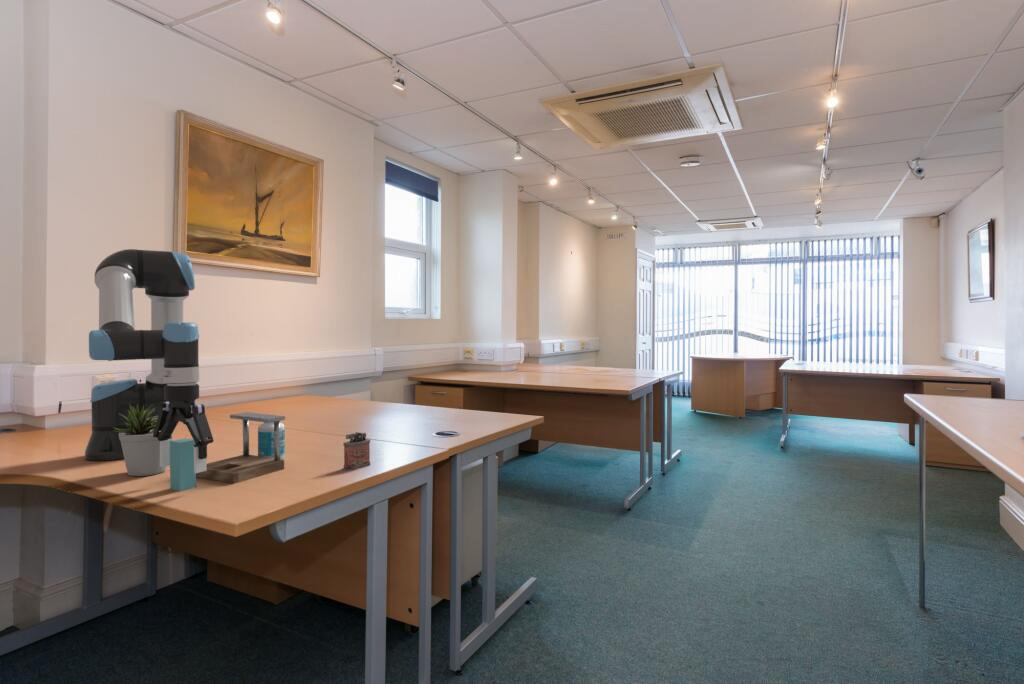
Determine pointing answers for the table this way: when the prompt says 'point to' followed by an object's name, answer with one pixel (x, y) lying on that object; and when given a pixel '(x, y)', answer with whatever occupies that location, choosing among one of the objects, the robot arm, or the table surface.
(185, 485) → the peg
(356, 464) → the lighter
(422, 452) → the table surface
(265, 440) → the pill bottle
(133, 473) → the potted plant
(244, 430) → the grey metal bridge
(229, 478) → the socket plate
